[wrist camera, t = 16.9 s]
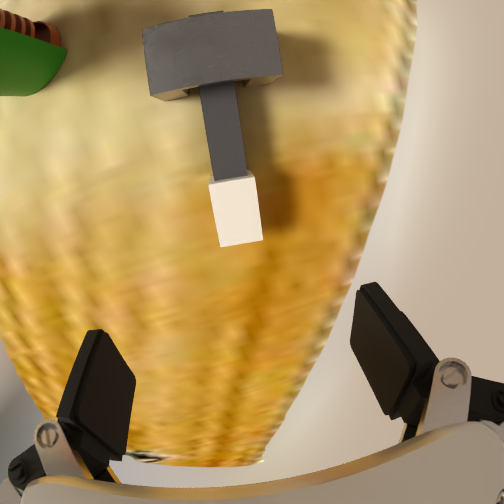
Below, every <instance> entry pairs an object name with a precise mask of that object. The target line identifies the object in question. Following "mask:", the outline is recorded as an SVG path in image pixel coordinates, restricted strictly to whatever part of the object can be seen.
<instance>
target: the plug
mask: <svg viewBox="0 0 504 504" xmlns="http://www.w3.org/2000/svg"><path fill="white" fill-rule="evenodd" d="M216 13H223V11H217V12H210V13H203V14H197V15H192V16H189V18H191V17H197V16H203V15H209V14H216ZM199 91H200V98H201V104H202V111H203V117H204V123H205V129H206V135H207V141H208V147H209V153H210V159H211V165H212V171H213V176H210V178H209V184H208V185H209V190H210V196H211V201H212V206H213V212H214V217H215V222H216V227H217V232H218V237H219V242H220V247H225V246H231V245H237V244H242V243H248V242H254V241H260V240H263V235H262V227H261V220H260V212H259V205H258V197H257V190H256V182H255V177H254V175H253V173H252V172H251V170H250V169H249V170H247V166H246V159H245V152H244V146H243V139H242V132H241V125H240V118H239V111H238V105H237V98H236V91H235V85H234V81H230V82H223V83H217V84H211V85H205V86H200V87H199Z"/></svg>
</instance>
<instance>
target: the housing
mask: <svg viewBox="0 0 504 504" xmlns="http://www.w3.org/2000/svg"><path fill="white" fill-rule="evenodd" d="M142 34H143V44H144V53H145V61H146V69H147V77H148V84H149V90H150V96H152V97H155V98H158V99H161V100H163V101H169V100H173V99H177V98H182V97H187V96H189V94H188V89H189V88H194V87H200V86H205V85H211V84H217V83H223V82H230V81H238V80H244V82H245V87H249V86H259V85H269V84H270V83H272V82H273V81H275V80H276V79H278V78H279V77H280V76H282V75H283V70H282V63H281V57H280V51H279V45H278V39H277V33H276V27H275V22H274V16H273V11H272V9H261V10H245V11H233V12H224V13H216V14H209V15H203V16H197V17H191V18H186V19H181V20H176V21H172V22H168V23H164V24H160V25H156V26H152V27H148V28H145V29H142Z"/></svg>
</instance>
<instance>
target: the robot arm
mask: <svg viewBox="0 0 504 504" xmlns="http://www.w3.org/2000/svg"><path fill="white" fill-rule="evenodd" d="M350 345H351V348H352V350H353V352H354V354H355V356H356V358H357V360H358V362H359V364H360V366H361V368H362V370H363V372H364V374H365V376H366V378H367V380H368V382H369V384H370V386H371V388H372V390H373V392H374V394H375V396H376V398H377V400H378V402H379V405H380V407H381V409H382V411H383V413H384V414H385V415H389V416H390V418H391V420H394V419H396V418H399V417H402V419H403V421H404V423H405V425H404V428H403V431H402V434H401V437H400V440H399V443H398V444H397V445H395V446H392V447H390V448H387V449H385V450H382V451H379V452H377V453H374V454H371V455H369V456H366V457H363V458H360V459H357V460H354V461H351V462H348V463H346V464H342V465H339V466H335V467H332V468H328V469H325V470H321V471H317V472H313V473H309V474H305V475H300V476H296V477H291V478H286V479H281V480H275V481H269V482H262V483H256V484H247V485H238V486H226V487H209V488H165V487H164V488H163V487H148V486H137V485H128V484H122V483H121V482H120V481H119V479H118V478H117V476H116V475H115V474H114V472H113V470H112V469H111V468H110V466H109V460H114V461H122V455H124V454H125V453H126V447H127V438H128V431H129V424H130V417H131V410H132V404H133V398H134V392H135V386H136V379H135V376H134V374H133V373H132V371H131V370H130V368H129V367H128V365H127V364H126V362H125V361H124V359H123V357H122V356H121V354H120V353H119V351H118V349H117V348H116V346H115V344H114V343H113V341H112V339H111V338H110V336H109V334H108V333H105V332H104V331H103V330H102V329H97V330H89V331H88V332H87V333H86V335H85V338H84V340H83V343H82V345H81V347H80V350H79V352H78V355H77V357H76V360H75V363H74V365H73V368H72V370H71V373H70V376H69V379H68V381H67V384H66V387H65V390H64V393H63V396H62V399H61V402H60V405H59V408H58V412H57V415H56V417H57V418H58V421H57V422H56V421H55V420H52V419H48V420H45V421H42V422H41V423H40V424H39V425H38V426H37V428H36V430H35V432H34V443H35V444H34V445H33V446H31V447H30V448H28V449H27V450H26V451H25V452H23V453H22V454H20V455H19V456H17V457H16V458H14V459H13V460H12V461H11V463H10V465H9V468H8V476H9V479H8V478H7V477H6V478H5V480H4V481H3V482H2V484H1V485H0V504H504V383H499V382H494V381H490V380H486V379H482V378H478V377H474V376H471V371H470V369H469V367H468V366H467V365H466V363H465V362H463V361H461V360H460V359H457V358H446V359H443V360H442V361H439V360H438V358H437V357H436V356H435V354H434V353H433V351H432V350H431V348H430V347H429V346H428V344H427V343H426V342H425V340H424V339H423V338H422V336H421V335H420V334H419V332H418V331H417V330H416V328H415V327H414V326H413V324H412V323H411V322H410V321H409V319H408V318H407V317H406V315H405V314H404V313H403V312H402V311H400V310H399V309H398V308H397V307H396V306H395V304H394V303H393V302H392V300H391V299H390V298H389V297H388V295H387V294H386V293H385V292H384V290H383V289H382V288H381V287H380V285H379V284H378V283H376V282H372V283H369V284H364V285H361V287H360V290H357V292H356V299H355V307H354V316H353V323H352V330H351V337H350Z"/></svg>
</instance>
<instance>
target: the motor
mask: <svg viewBox="0 0 504 504" xmlns="http://www.w3.org/2000/svg"><path fill="white" fill-rule="evenodd" d="M60 43H61V39H60V34H59V32H58V30H57V29H56V28H55V27H53V26H51V25H49V24H46V23H44V22H41V21H37V22H32V21H31V20H29V19H27V18H24V17H21V16H19V15H17V14H13V13H11V12H8V11H5V10H2V9H0V96H28V95H31V94H34V93H36V92H37V91H39V90H40V89H42V88H43V87H44V86H45V85H46V84H47V83H48V82H49V81H50V80H51V79H52V78H53V77H54V75H55V74H56V73H57V71H58V70H59V68H60V66H61V65H62V63H63V61H64V59H65V56H66V54H67V51H68V50H66V49H63V48H61V47H60Z"/></svg>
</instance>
